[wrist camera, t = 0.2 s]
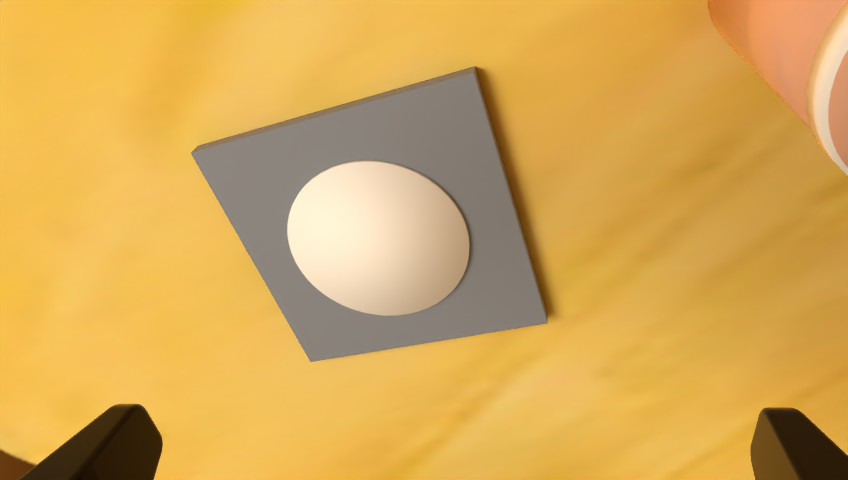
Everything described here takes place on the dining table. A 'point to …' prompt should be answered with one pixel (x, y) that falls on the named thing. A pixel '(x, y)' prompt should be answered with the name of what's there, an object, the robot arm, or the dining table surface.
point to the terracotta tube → (797, 58)
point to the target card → (381, 219)
